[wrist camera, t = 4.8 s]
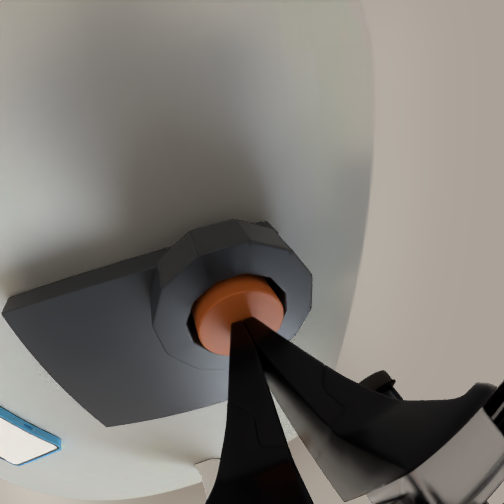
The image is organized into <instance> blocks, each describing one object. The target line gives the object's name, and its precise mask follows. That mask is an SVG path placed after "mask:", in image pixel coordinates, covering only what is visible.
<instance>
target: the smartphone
mask: <svg viewBox="0 0 504 504" xmlns="http://www.w3.org/2000/svg"><path fill="white" fill-rule="evenodd" d="M59 450H61V440H60V439H59V438H58V437H56V436H54V435H51V434H49V433H47V432H45V431H43V430H41V429H39V428H37V427H35V426H33V425H31V424H29V423H27V422H26V421H24V420H22V419H20V418H18V417H17V416H15V415H13V414H11V413H10V412H8V411H6V410H5V409H3V408H1V407H0V458H1V459H3V460H5V461H7V462H9V463H11V464H13V465H16V466H21V465H24V464H27V463H29V462H32V461H34V460H37V459H40V458H42V457H45V456H47V455H49V454H52V453H54V452H57V451H59Z"/></svg>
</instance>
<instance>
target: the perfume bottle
mask: <svg viewBox="0 0 504 504" xmlns="http://www.w3.org/2000/svg"><path fill="white" fill-rule="evenodd" d="M219 463H220V459H210V460H207V461H204V462H201V463H198V464H195V467H196V468H197V470H198V472H199V473H200V475H201V477H202V481H203V485H204V489H205V493H206V497H207V499H208V497H209V495H210V493H211V490H212V488H213V486H214V483H215V480H216V477H217V473H218V468H219Z"/></svg>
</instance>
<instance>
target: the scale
mask: <svg viewBox="0 0 504 504" xmlns="http://www.w3.org/2000/svg"><path fill="white" fill-rule="evenodd" d="M242 274H251V275H257V276H263V277H264V278H265V279H266V281H267V282H268V284H269V285H270V287H271V288H272V289H273V291H274V292H275V294H276V295H277V297H278V298H279V300H280V302H281V303H282V306H283V310H284V317H283V321H282V324H281V326H280V328H279V330H278V331H277V333H278V334H280V335H281V336H283V337H284V338H286V339H287V340H288V341H289V340H290V339H291V338H292V337H293V336H295V335H296V333H297V331H298V330H299V328H300V327H301V325H302V323H303V322H304V320H305V318H306V317H307V315H308V313H309V312H310V310H311V308H312V307H311V306H312V274H311V273H310V271H309V270H308V269H307V268H306V266H305V265H304V264H303V263H302V261H301V260H300V259H299V257H298V256H297V255H296V254H295V252H294V251H293V250H292V249H291V248H290V247H289V246H288V245H287V244H286V243H285V242H284V241H283V239H282V238H281V237H280V236H279V235H278V232H277V231H276V230H275V229H274V228H273V227H272V226H271V225H270V224H269V223H268V222H267V221H264V222H260V223H256V224H251V223H248V222H244V221H240V220H233V219H232V220H228V221H224V222H220V223H217V224H213V225H209V226H205V227H202V228H198V229H195V230H191V231H189V232H188V233H187V234H186V235H185V236H183V237H182V238H181V239H180V240H179V241H178V242H177V243H176V244H175V245H174V246H173V247H169V248H166V249H162V250H159V251H155V252H152V253H149V254H145V255H142V256H138V257H135V258H132V259H128V260H125V261H122V262H119V263H115V264H112V265H109V266H105V267H102V268H99V269H96V270H93V271H89V272H86V273H83V274H80V275H77V276H74V277H70V278H67V279H64V280H61V281H58V282H55V283H52V284H49V285H46V286H43V287H40V288H37V289H34V290H31V291H28V292H25V293H22V294H19V295H16V296H13V297H11V298H9V299H8V300H7V303H6V305H5V307H4V309H3V311H2V316H3V317H4V318H5V320H6V321H7V323H8V324H9V326H10V327H11V328H12V330H13V331H14V332H15V334H16V335H17V336H18V338H19V339H20V340H21V342H22V343H23V344H24V345H25V347H26V348H27V349H28V350H29V352H30V353H31V354H32V355H33V356H34V358H35V359H36V360H37V361H38V362H39V363H40V365H41V366H42V367H43V368H44V369H45V370H46V371H47V372H48V373H49V374H50V376H51V377H52V378H53V379H54V380H55V381H56V382H57V383H58V384H59V385H60V386H61V387H62V388H63V389H64V390H65V391H66V392H67V393H68V394H69V395H70V396H71V397H72V398H73V399H74V400H76V401H77V402H78V403H79V404H80V405H81V406H82V407H83V408H84V409H86V410H87V411H88V412H89V413H90V414H91V415H92V416H94V417H95V418H96V419H97V420H98V421H100V422H101V423H102V424H103V425H105V426H106V427H111V426H118V425H125V424H131V423H137V422H142V421H147V420H153V419H157V418H162V417H167V416H171V415H175V414H180V413H184V412H188V411H192V410H195V409H199V408H203V407H206V406H210V405H213V404H217V403H220V402H224V401H227V400H228V379H229V356H225V355H219V354H215V353H213V352H211V351H209V350H208V349H206V348H205V347H204V346H203V344H202V343H201V341H200V339H199V336H198V333H197V329H196V326H195V322H194V318H193V314H192V311H191V308H192V305H193V303H194V301H195V300H197V299H198V298H199V297H200V296H201V295H202V294H203V293H205V292H206V291H207V290H208V289H209V288H210V287H212V286H213V285H214V284H215V283H216V282H219V281H222V280H226V279H229V278H232V277H236V276H239V275H242Z"/></svg>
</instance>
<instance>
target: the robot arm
mask: <svg viewBox="0 0 504 504" xmlns="http://www.w3.org/2000/svg"><path fill="white" fill-rule="evenodd" d="M395 382H396V381H395V379H393V380H392V381H390V382H388V383H387V384H385V385H384V386H382V387H380V388H379V389H377V390H376V391H374V390H372V389H369V388H367V387H365V386H363V385H360V384H358V383H356V382H354V381H352V380H350V379H348V378H346V377H344V376H343V375H341V374H339V373H338V372H336V371H334V370H333V369H331V368H329V367H328V366H326V365H324V364H323V363H322V362H320V361H319V360H317V359H315V358H314V357H312V356H311V355H309V354H308V353H306V352H305V351H303V350H302V349H300V348H299V347H297V346H296V345H294V344H293V343H291V342H290V341H288V340H287V339H286V338H284V337H283V336H281V335H280V334H278V333H277V332H275V331H274V330H272V329H271V328H270V327H268V326H267V325H265V324H264V323H262V322H261V321H260V320H258V319H257V318H255V317H253V316H252V317H249V318H246V319H243V321H242V320H240V321H236V322H233V323H232V324H231V332H230V354H229V379H228V403H227V421H226V430H225V437H224V442H223V448H222V453H221V458H220V463H219V468H218V473H217V477H216V480H215V483H214V486H213V488H212V490H211V493H210V495H209V497H208V499H207V501H206V503H205V504H314V503H313V501H312V499H311V497H310V495H309V493H308V491H307V489H306V486H305V484H304V482H303V480H302V478H301V476H300V474H299V471H298V469H297V467H296V465H295V463H294V460H293V458H292V455H291V452H290V449H289V447H288V444H287V441H286V438H285V435H284V432H283V429H282V426H281V423H280V420H279V417H278V414H277V411H276V408H275V405H274V401H273V398H272V395H271V392H272V394H273V395H274V397H275V399H276V400H277V402H278V404H279V405H280V407H281V409H282V410H283V412H284V413H285V415H286V417H287V418H288V420H289V421H290V423H291V425H292V426H293V428H294V429H295V431H296V432H297V434H298V436H299V437H300V439H301V440H302V442H303V443H304V445H305V446H306V448H307V449H308V451H309V452H310V454H311V455H312V457H313V458H314V460H315V461H316V463H317V464H318V466H319V467H320V469H321V470H322V472H323V473H324V475H325V476H326V478H327V479H328V480H329V482H330V483H331V484H332V486H333V487H334V489H335V490H336V492H337V493H338V494H339V496H340V497H341V499H342V500H343V501H344V502H347V501H349V500H352V499H355V498H357V497H360V496H362V495H365V494H366V495H367V497H368V498H369V500H370V501H371V503H372V504H489V503H488V502H487V499H488V498H489V497H490V496H491V495H492V494H493V493H494V492H495V490H496V489H497V488H498V487H499V486H500V484H501V483H502V482H503V481H504V380H503V382H502V383H501V384H500V385H499V386H498V388H497V387H496V386H494V385H492V384H489V383H476V384H475V385H474V386H473V387H472V388H471V389H470V390H469V391H468V392H467V393H466V394H465V395H463V396H461V397H458V398H455V399H449V400H426V401H424V400H420V401H407V400H403V399H402V397H401V396H400V395H399V394H398V392H397V391H396V390H395V389H394V387H393V386H394V384H395ZM270 390H271V392H270ZM503 504H504V503H503Z"/></svg>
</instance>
